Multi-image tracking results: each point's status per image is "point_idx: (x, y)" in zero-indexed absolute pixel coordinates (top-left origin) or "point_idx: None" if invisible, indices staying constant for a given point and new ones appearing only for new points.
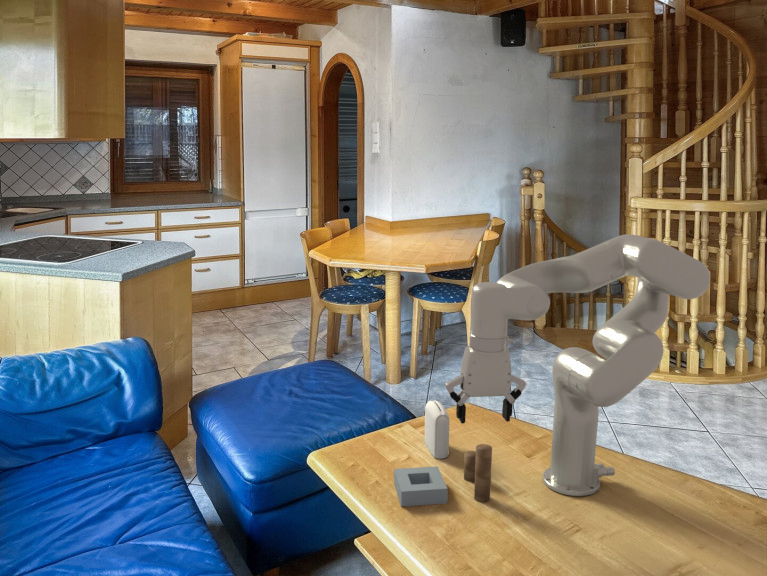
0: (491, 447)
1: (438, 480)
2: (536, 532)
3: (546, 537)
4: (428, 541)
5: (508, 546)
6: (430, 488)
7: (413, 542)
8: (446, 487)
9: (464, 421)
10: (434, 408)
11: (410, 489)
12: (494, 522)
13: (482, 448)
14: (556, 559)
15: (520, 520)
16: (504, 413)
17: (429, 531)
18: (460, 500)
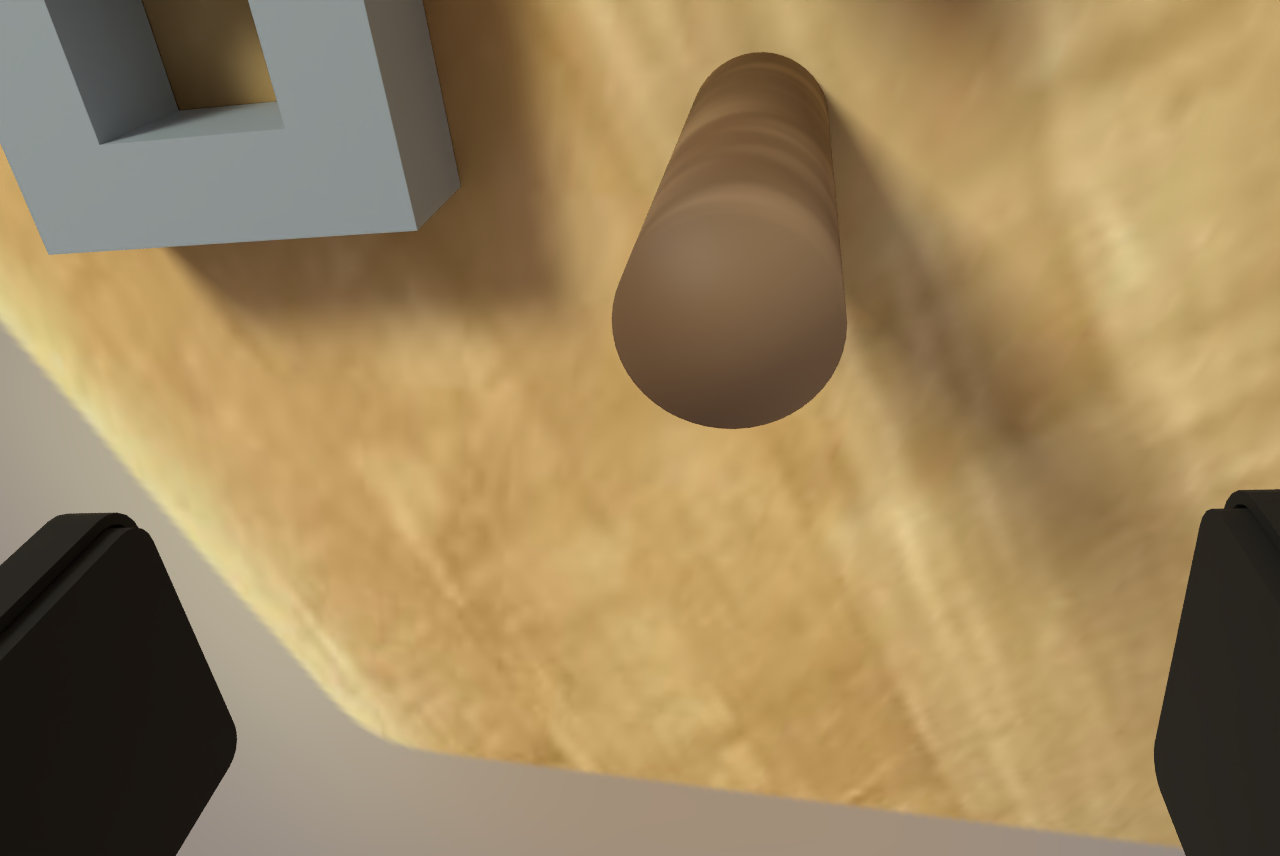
0: (838, 332)
1: (330, 77)
2: (1019, 566)
3: (1060, 614)
4: (352, 572)
5: (792, 656)
6: (271, 223)
7: (273, 571)
8: (407, 212)
9: (209, 777)
10: None
11: (111, 226)
12: (773, 445)
13: (697, 352)
14: (1017, 769)
15: (968, 440)
16: (1229, 758)
17: (351, 492)
18: (570, 145)
